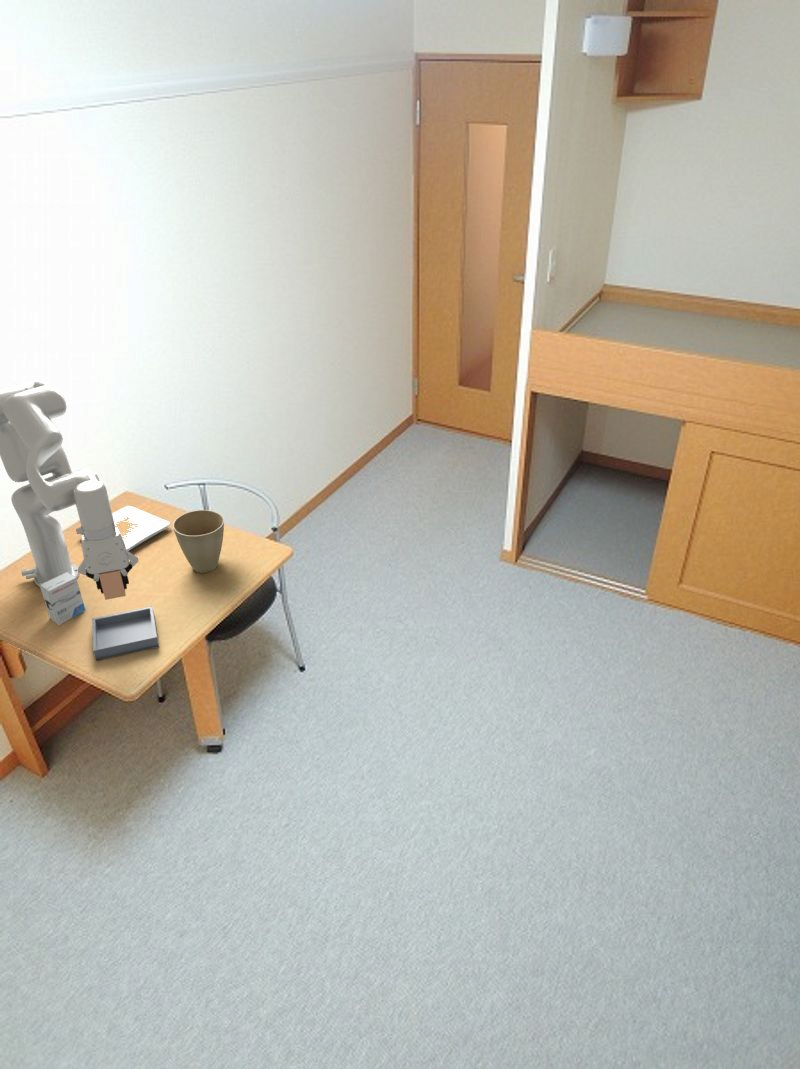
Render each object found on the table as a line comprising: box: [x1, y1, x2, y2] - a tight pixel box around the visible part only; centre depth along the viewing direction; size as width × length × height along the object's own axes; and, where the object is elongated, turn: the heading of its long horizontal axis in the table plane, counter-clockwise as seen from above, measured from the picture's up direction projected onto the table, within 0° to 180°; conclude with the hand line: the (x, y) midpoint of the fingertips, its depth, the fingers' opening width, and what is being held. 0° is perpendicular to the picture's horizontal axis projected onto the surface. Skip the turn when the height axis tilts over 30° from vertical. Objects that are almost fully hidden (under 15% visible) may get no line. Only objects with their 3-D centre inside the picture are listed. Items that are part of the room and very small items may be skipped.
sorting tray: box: [91, 605, 160, 661], centre depth 203 cm, size 16×14×4 cm
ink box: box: [39, 572, 86, 625], centre depth 209 cm, size 8×5×12 cm, turn 141°
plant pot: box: [172, 509, 225, 573], centre depth 228 cm, size 15×15×16 cm
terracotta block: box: [99, 570, 127, 601], centre depth 193 cm, size 5×5×8 cm
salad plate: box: [80, 505, 171, 552], centre depth 247 cm, size 21×21×3 cm
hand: (114, 587), depth 195 cm, fingers closed on terracotta block, 5 cm apart
